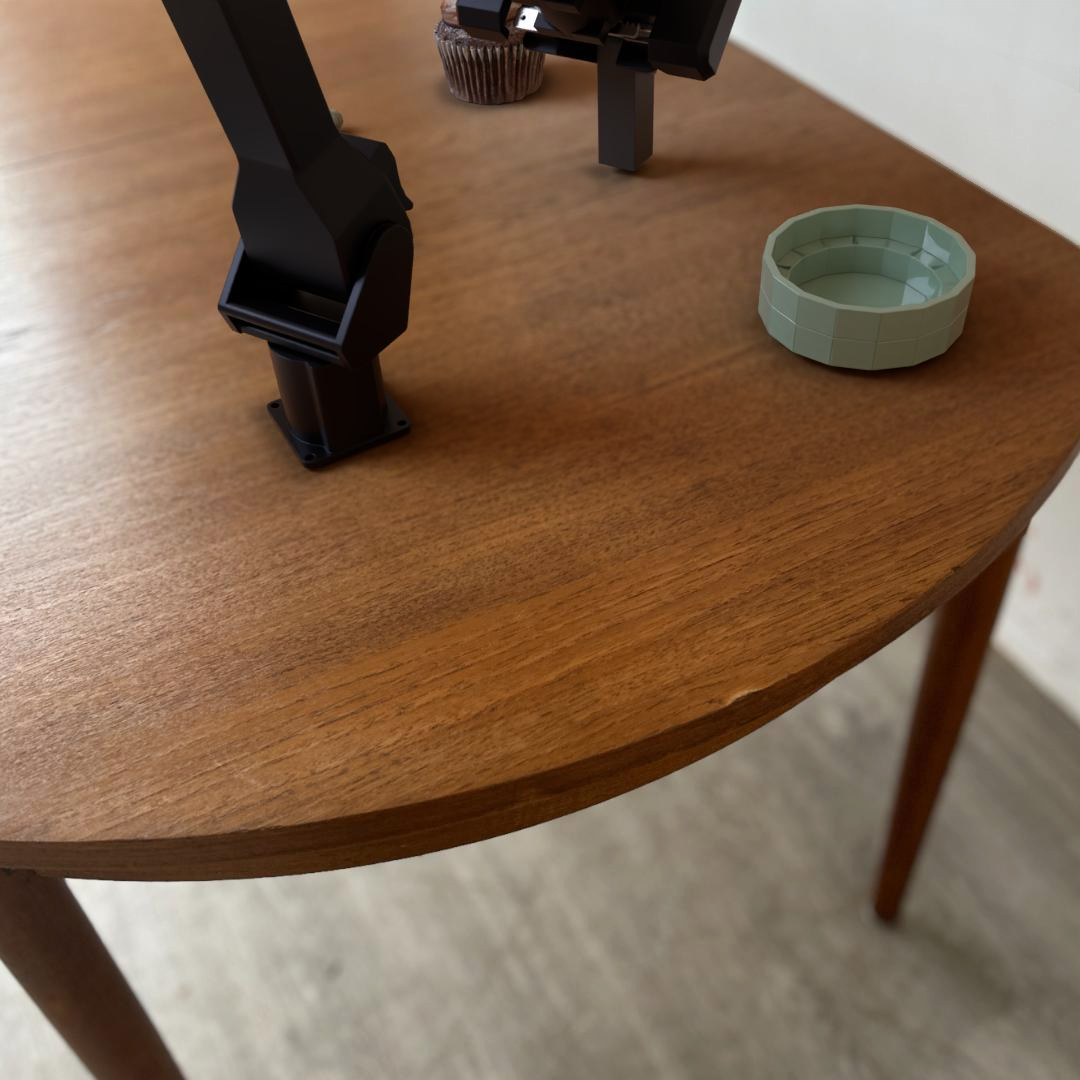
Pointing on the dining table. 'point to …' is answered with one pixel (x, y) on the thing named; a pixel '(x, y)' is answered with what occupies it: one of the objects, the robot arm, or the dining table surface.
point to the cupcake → (486, 61)
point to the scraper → (623, 110)
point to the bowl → (865, 286)
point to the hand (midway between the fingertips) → (635, 63)
